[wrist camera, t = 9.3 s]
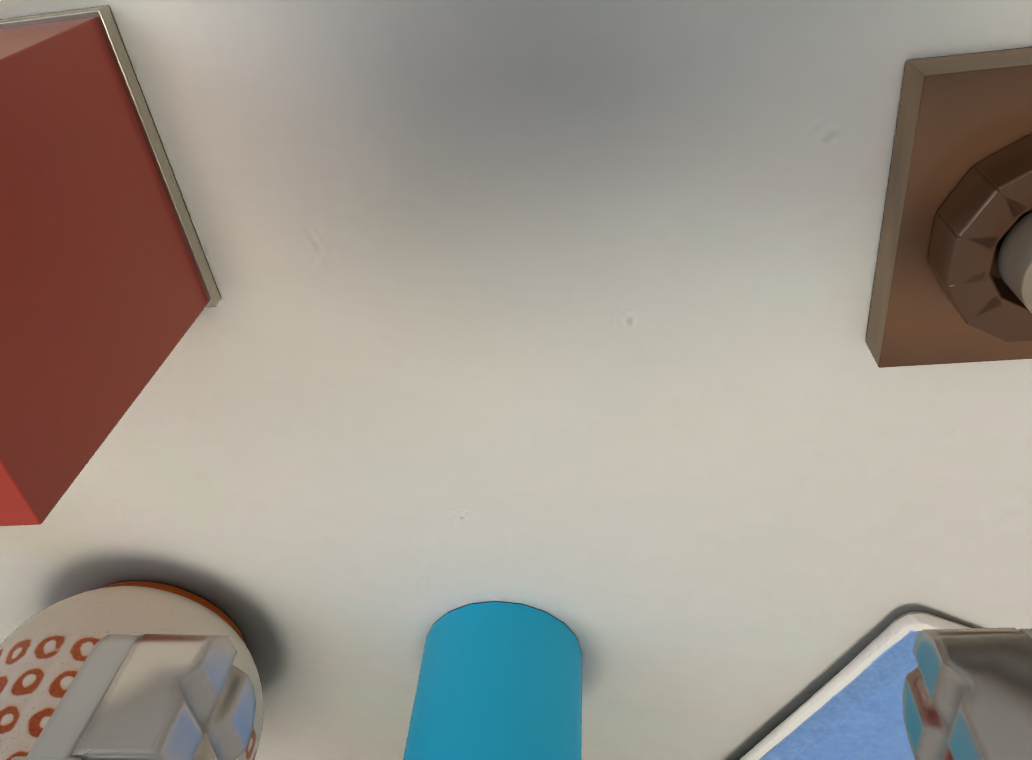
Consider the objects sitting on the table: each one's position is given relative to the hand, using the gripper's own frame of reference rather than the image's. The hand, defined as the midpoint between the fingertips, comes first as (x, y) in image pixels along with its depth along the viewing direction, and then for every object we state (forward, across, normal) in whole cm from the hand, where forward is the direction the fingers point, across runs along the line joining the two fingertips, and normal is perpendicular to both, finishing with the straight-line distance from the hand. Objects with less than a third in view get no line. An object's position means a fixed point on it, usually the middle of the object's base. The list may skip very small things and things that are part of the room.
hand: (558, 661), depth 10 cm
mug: (+21, +6, +29) cm, 36 cm away
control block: (+20, -14, +4) cm, 25 cm away
